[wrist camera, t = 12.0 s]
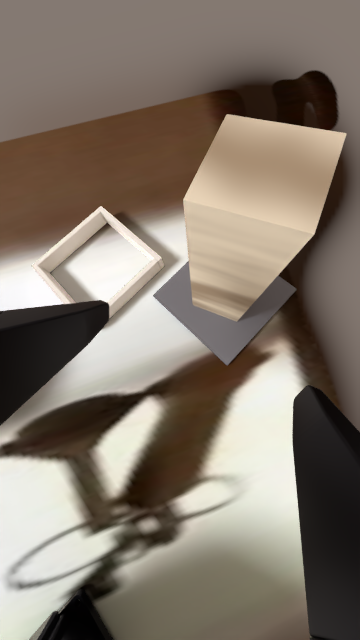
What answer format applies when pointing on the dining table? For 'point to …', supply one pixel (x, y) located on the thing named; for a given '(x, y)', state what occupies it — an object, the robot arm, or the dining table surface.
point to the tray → (80, 237)
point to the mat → (214, 328)
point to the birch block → (254, 208)
